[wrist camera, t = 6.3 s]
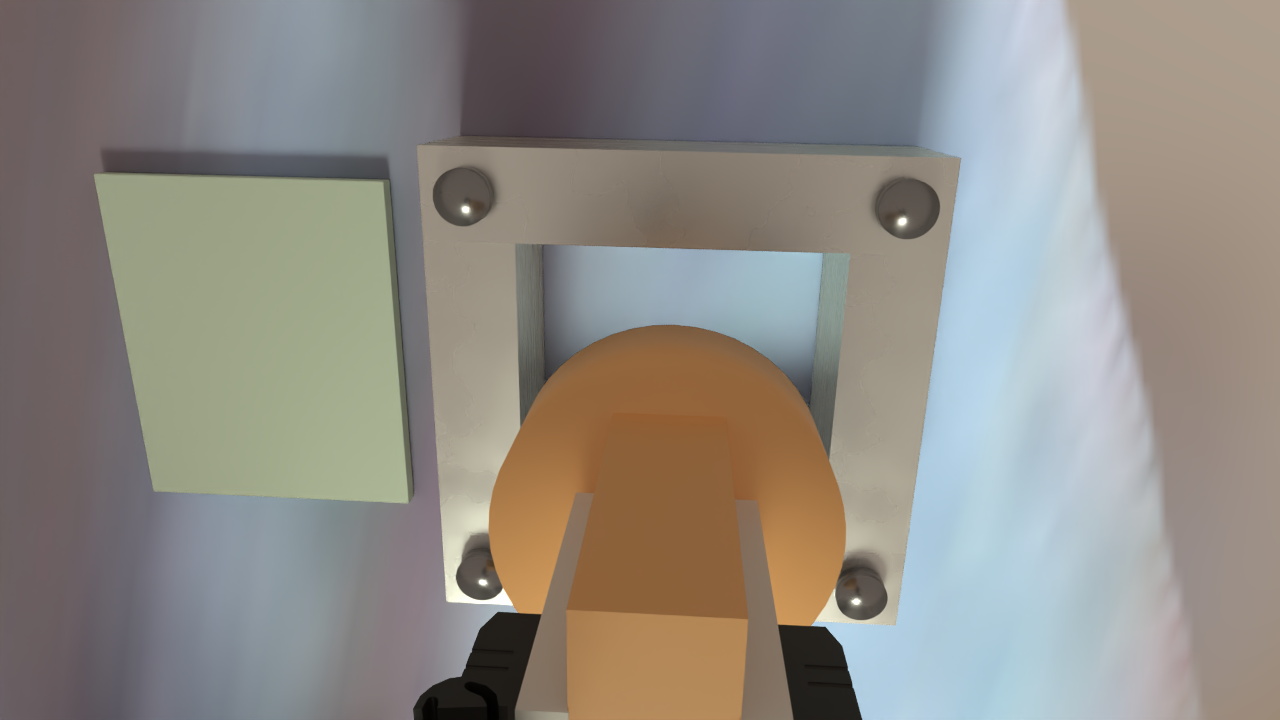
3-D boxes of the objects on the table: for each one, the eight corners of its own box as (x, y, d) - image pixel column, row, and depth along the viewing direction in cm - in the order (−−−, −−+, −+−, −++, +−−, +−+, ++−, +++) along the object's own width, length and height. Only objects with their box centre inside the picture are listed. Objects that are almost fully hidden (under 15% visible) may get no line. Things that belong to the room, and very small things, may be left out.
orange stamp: (808, 607, 23) (900, 1009, 13) (522, 592, 23) (396, 972, 13) (836, 330, 20) (976, 562, 10) (514, 319, 21) (352, 532, 11)
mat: (413, 495, 32) (408, 503, 31) (163, 484, 32) (153, 491, 32) (389, 179, 28) (382, 181, 27) (105, 172, 28) (93, 173, 28)
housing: (867, 551, 31) (900, 636, 26) (479, 533, 32) (441, 612, 27) (917, 146, 27) (967, 160, 22) (459, 135, 27) (409, 146, 22)
